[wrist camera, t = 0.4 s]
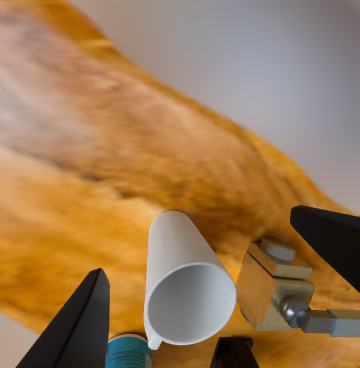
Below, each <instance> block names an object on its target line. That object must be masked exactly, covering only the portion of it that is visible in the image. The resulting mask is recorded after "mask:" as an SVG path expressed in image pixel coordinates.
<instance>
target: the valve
mask: <svg viewBox="0 0 360 368" xmlns="http://www.w3.org/2000/svg"><path fill="white" fill-rule="evenodd" d="M295 254H296V250H295V249H294V248H293V247H292V246H290V245H289V244H287V243H285V242H283V241H280V240H278V239H275V238H271V237H262V240H261V243H258V242H250V245H249V249H248V252H246V254H245V258H244V261H243V264H242V267H241V271H240V274H239V277H238V280H237V284H236V291H237V302H238V303H239V305H240V310H241V313H242V315H243V317H244V318H245V319H246V320H247V321H248V322H249V323H250V324H251V325H252V327H253V329H254V330H255V331H290V330H291V327H290V326H289V325H288V323H287V322H286V321H285V320H284V319H283V317H282V316H281V314H280V307H281V305H282V303H283V302H284V301H285V300H286V299H288V298H289V297H293V296H297V297H299V298H300V299H301V300H303V301H304V302H305V303H306V304H307V305H308V306H309V304H310V301H311V299H312V296H313V293H314V291H315V288H316V286H315V285H314V284H313V283H312V282H310V281H309V280H308V279H309V278H310V275H311V273H312V270H313V268H311V267H310V266H309V265H307V264H306V263H304V262H303V261H301V260H300V259H299V258H297V257H296V256H295Z"/></svg>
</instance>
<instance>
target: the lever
mask: <svg viewBox="0 0 360 368" xmlns="http://www.w3.org/2000/svg"><path fill="white" fill-rule="evenodd" d="M280 314H281V316H282V317H283V319H284V320H285V321H286V322H287V323H288V325H289V326H290V327H292V328H301V329H302V330H303V332H304V333H328V334H329V335H330V336H331V337H360V311H357V310H341V309H327V310H326V311H323V310H311V309H310V307H309V306H308V305H307V304H306V303H305V302H304V301H303V300H301V299H300V298H299V297H297V296H293V297H289V298H288V299H286V300H285V301H284V302H283V303H282V305H281V307H280Z"/></svg>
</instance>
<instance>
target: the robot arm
mask: <svg viewBox="0 0 360 368" xmlns="http://www.w3.org/2000/svg"><path fill="white" fill-rule="evenodd" d="M290 223H291V225H292V227H293V228H294V229H295V230H296V231H297V232H298V233H299V234H300V235H301V236H302V238H303V239H304V240H305V241H306V242H307V243H308V244H309V245H310V246H311V247H312V248H313V249H314V251H315V252H316V253H317V254H319V255H320V256H321V257H322V258H323V259H324V260H325V261H326V262H327V263H328V264H329V265H330V266H331V267H332V268H333V269H335V270H336V271H337V272H338V273H339V274H340V275H341V276H342V277H343V278H344V279H345V280H346V281H347V282H349V283H350V284H351V285H352V286H353V287H354V288H355V289H356V290H357V291H358V292H359V293H360V217H357V216H352V215H347V214H342V213H337V212H333V211H328V210H323V209H318V208H313V207H308V206H303V205H299V206H295V207H293V208H292V209H291V216H290ZM109 308H110V284H109V280H108V278H107V276H106V274H105V272H104V270H103V269H102V268H98V269H95V270H92V271H90V272H89V273H88V275H87V276H86V277H85V279H84V280H83V281H82V282H81V284H80V285H79V286H78V288H77V289H76V290H75V291H74V293H73V294H72V295H71V297H70V298H69V299H68V300H67V302H66V303H65V304H64V306H63V307H62V308H61V310H60V311H59V312H58V313H57V315H56V316H55V317H54V319H53V320H52V321H51V322H50V324H49V325H48V326H47V328H46V329H45V330H44V331H43V333H42V334H41V335H40V337H39V338H38V339H37V340H36V342H35V343H34V344H33V346H32V347H31V348H30V350H29V351H28V352H27V353H26V355H25V356H24V357H23V359H22V360H21V361H20V363H19V364H18V365H17V366H16V368H105V363H106V354H107V345H108V336H109ZM252 346H253V341H252V339H230V338H221V339H219V341H218V343H217V347H216V350H215V353H214V356H213V360H212V363H211V366H210V368H260V367H259V366H258V364H257V362H256V360H255V358H254V356H253V354H252V352H251V349H252Z"/></svg>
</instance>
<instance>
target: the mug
mask: <svg viewBox="0 0 360 368" xmlns="http://www.w3.org/2000/svg"><path fill="white" fill-rule="evenodd" d="M236 300H237V291H236V286H235V283H234V281H233V279H232V277H231V276H230V274H229V273H228V272H227V270H226V269H225V267H224V266H223V264H222V263H221V261H220V260H219V259H218V257H217V256H216V254H215V253H214V252H213V250H212V249H211V247H210V246H209V244H208V243H207V242H206V240H205V239H204V237H203V236H202V235H201V233H200V232H199V230H198V229H197V227H196V226H195V225H194V223H193V222H192V221H191V219H190V218H189V217H188V216H187V215H186V214H184V213H182V212H180V211H174V210H172V211H166V212H163V213H161V214H160V215H158V216H157V217H156V218H155V219H154V220H153V222H152V224H151V226H150V230H149V242H148V261H147V278H146V297H145V305H144V326H145V331H146V335H147V338H148V347H149V348H150V349H153V350H157V349H158V348H159V346H160V344H161V343H162V341H164V342H166V343H169V344H174V345H190V344H195V343H198V342H201V341H203V340H206V339H208V338H209V337H211V336H213V335H214V334H216V333H217V332H218V331H219V330H220V329H221V328H222V327H223V326H224V325H225V324H226V323H227V322H228V320H229V319H230V317H231V315H232V313H233V311H234V308H235V305H236Z"/></svg>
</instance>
